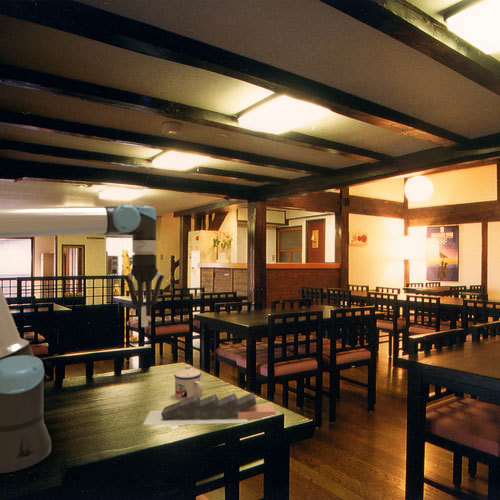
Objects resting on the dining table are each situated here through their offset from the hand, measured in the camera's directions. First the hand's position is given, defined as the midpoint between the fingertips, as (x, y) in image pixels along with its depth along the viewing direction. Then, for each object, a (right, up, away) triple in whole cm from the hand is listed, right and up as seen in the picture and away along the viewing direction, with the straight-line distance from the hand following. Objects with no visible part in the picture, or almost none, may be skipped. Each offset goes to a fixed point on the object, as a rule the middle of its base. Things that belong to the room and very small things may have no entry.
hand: (144, 326), depth 126 cm
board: (+18, -26, -10) cm, 33 cm away
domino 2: (+14, -24, -10) cm, 30 cm away
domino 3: (+20, -24, -10) cm, 33 cm away
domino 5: (+31, -24, -10) cm, 40 cm away
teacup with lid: (+14, -27, +6) cm, 31 cm away
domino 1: (+9, -24, -10) cm, 28 cm away
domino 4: (+26, -24, -10) cm, 36 cm away
